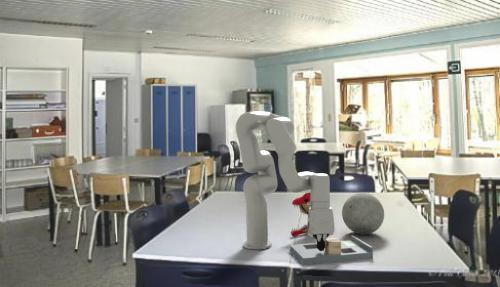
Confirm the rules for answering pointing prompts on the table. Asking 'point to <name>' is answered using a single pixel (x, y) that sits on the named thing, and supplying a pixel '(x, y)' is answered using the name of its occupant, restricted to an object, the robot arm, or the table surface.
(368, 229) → the decorative sphere
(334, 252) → the beech cube
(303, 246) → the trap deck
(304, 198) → the toy
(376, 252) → the table surface
